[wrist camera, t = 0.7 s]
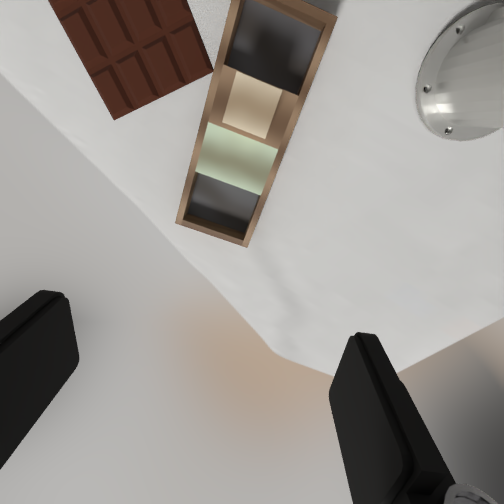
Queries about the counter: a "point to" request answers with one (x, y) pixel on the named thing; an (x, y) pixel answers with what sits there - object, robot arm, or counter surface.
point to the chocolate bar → (134, 48)
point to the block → (251, 105)
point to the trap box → (241, 142)
